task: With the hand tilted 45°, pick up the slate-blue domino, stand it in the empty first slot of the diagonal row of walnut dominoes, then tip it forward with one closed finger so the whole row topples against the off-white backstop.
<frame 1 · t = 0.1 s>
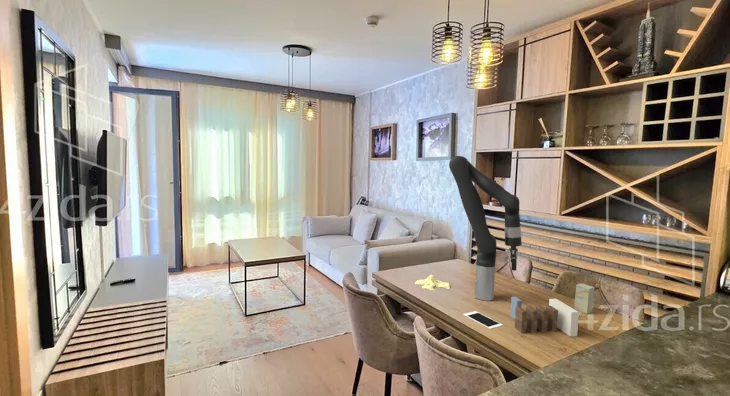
hand: (514, 267, 173), 17 cm above the table, tool pointing down, fingers open, 8 cm apart
cloth: (431, 284, 201), on the table
walnut domino 3: (530, 329, 144), on the table
skincare box: (583, 311, 164), on the table
slate domino: (515, 318, 155), on the table
walnut domino 2: (520, 330, 144), on the table
walnut domino 4: (540, 329, 145), on the table
walnut domino 5: (550, 328, 145), on the table
backstop: (562, 328, 146), on the table
cell phone: (482, 321, 154), on the table
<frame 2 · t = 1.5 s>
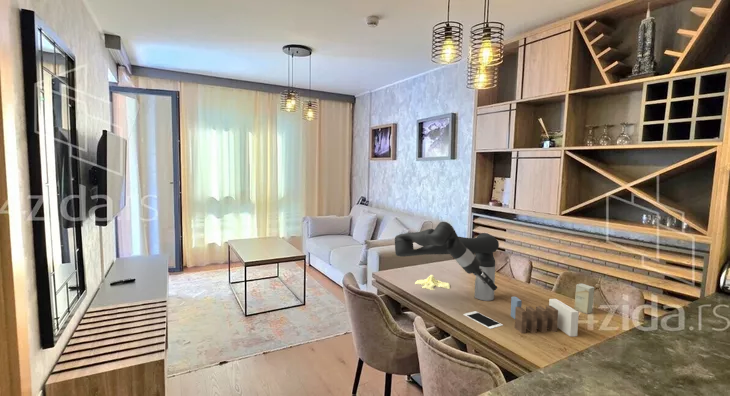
hand: (490, 285, 153), 15 cm above the table, tool tilted 45°, fingers open, 8 cm apart
nothing on the table moved.
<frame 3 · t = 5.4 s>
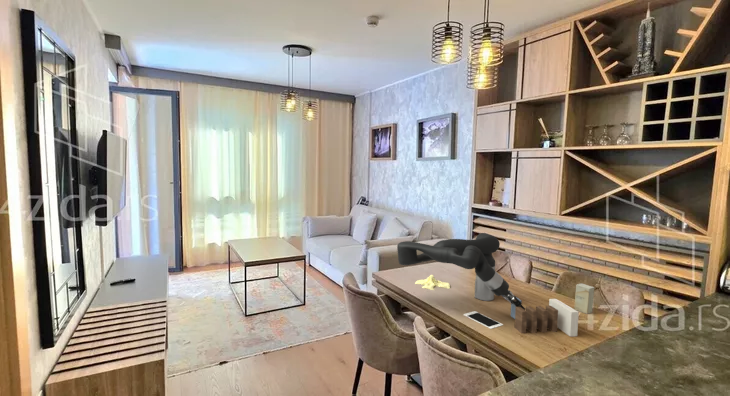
hand: (520, 307, 155), 5 cm above the table, tool tilted 45°, fingers closed on slate domino, 5 cm apart
slate domino: (515, 318, 155), on the table, touching gripper
everything else where it was.
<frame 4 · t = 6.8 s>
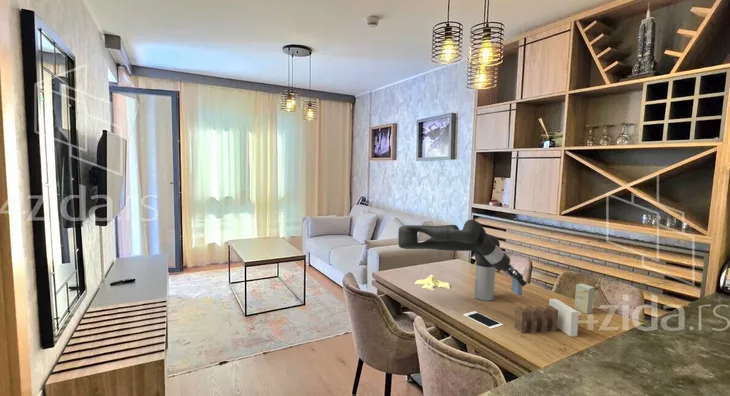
hand: (521, 282, 154), 16 cm above the table, tool tilted 45°, fingers closed on slate domino, 5 cm apart
slate domino: (516, 293, 154), point 12 cm above the table, touching gripper
everything else where it was.
when the fingers open (6 cm above the table, at t = 11.4 s): slate domino stays where it is, on the table.
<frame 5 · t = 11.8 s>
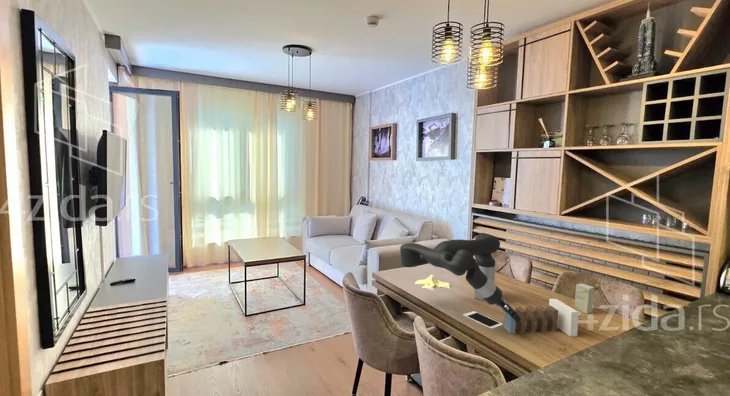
hand: (513, 316, 143), 6 cm above the table, tool tilted 45°, fingers open, 8 cm apart
slate domino: (509, 330, 144), on the table
everything else where it was.
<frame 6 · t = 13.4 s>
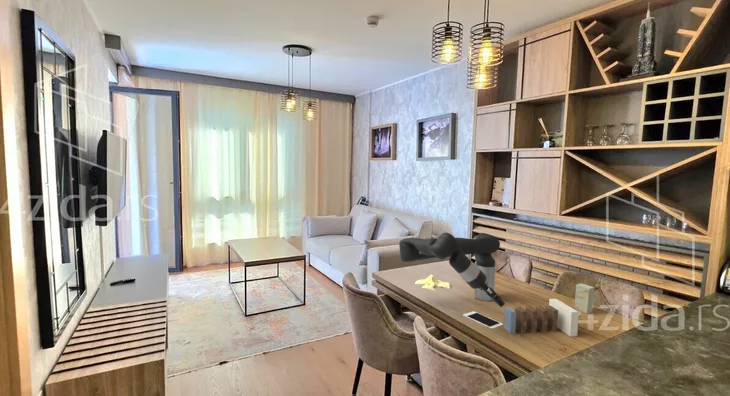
hand: (497, 301, 141), 13 cm above the table, tool tilted 45°, fingers open, 8 cm apart
nothing on the table moved.
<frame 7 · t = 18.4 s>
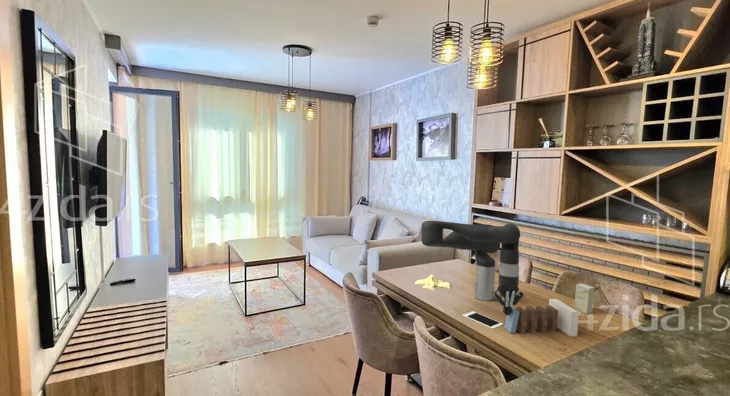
hand: (507, 314, 143), 7 cm above the table, tool pointing down, fingers closed
slate domino: (509, 330, 144), on the table, tilted 10°
everything else where it was.
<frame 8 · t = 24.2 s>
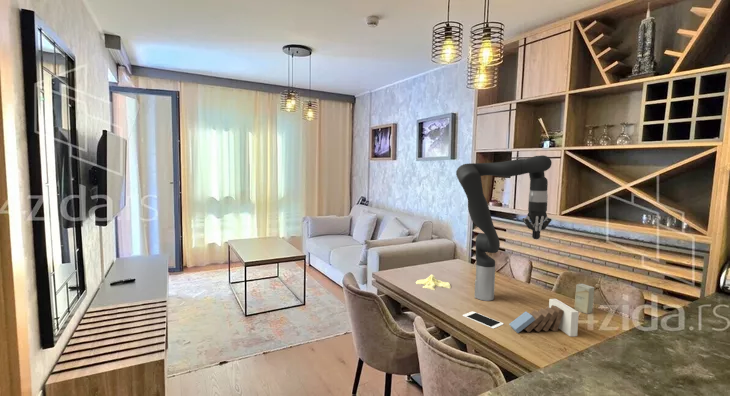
hand: (536, 238, 157), 35 cm above the table, tool pointing down, fingers closed
walnut domino 3: (533, 328, 144), point 1 cm above the table, tilted 37°, touching walnut domino 2, walnut domino 4
slate domino: (513, 328, 144), point 1 cm above the table, tilted 54°, touching walnut domino 2
walnut domino 2: (523, 328, 144), point 1 cm above the table, tilted 47°, touching slate domino, walnut domino 3
walnut domino 4: (541, 328, 145), on the table, tilted 30°, touching walnut domino 3, walnut domino 5
walnut domino 5: (551, 328, 145), on the table, tilted 16°, touching backstop, walnut domino 4
everything else where it was.
at the end: walnut domino 5 tilted 16°; walnut domino 5 touching backstop, table, walnut domino 4; slate domino inside the target area (0.5 cm from its centre), point 0.8 cm above the table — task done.
